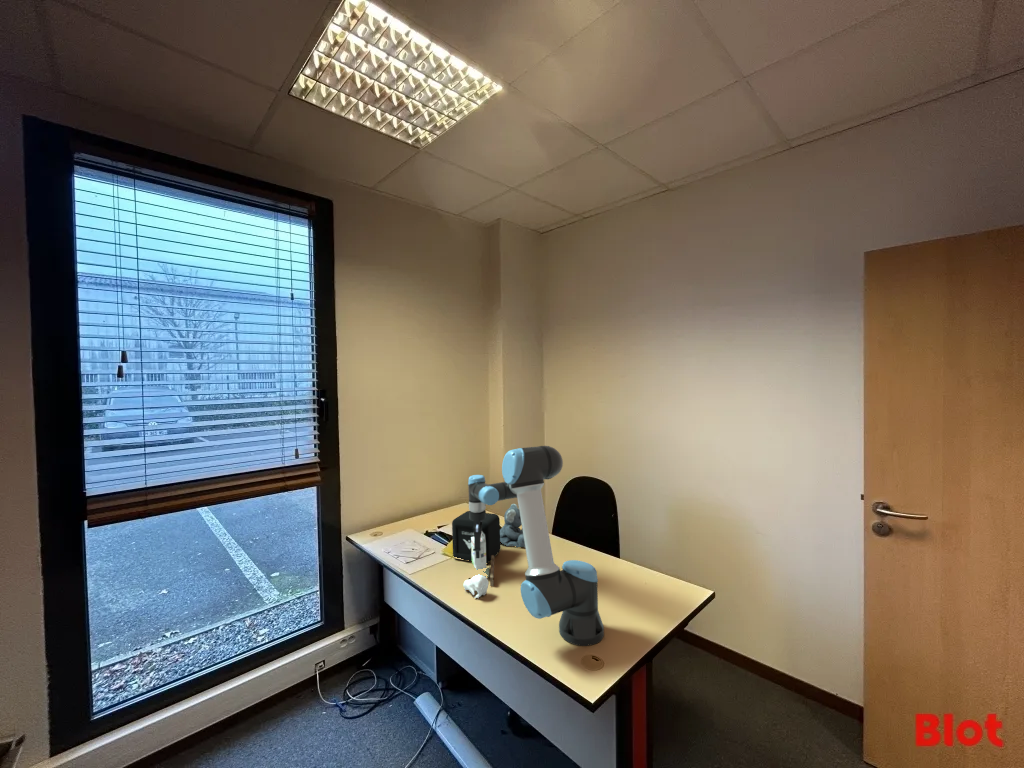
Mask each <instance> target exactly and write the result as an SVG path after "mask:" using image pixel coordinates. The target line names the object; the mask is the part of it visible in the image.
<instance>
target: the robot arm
mask: <svg viewBox="0 0 1024 768" xmlns="http://www.w3.org/2000/svg"><path fill="white" fill-rule="evenodd" d="M563 466H564V461H563V457H562V455H561V453H560V451H558V450H557V449H556V448H555V447H552V446H549V445H539V446H538V445H537V446H527V447H520V448H519V447H518V448H515V449H510V450H508V451H507V452H506V453H505V455H504V457H503V460H502V465H501V472H502V473H501V474H502V477H503V480H504V481H503V482H501V481H500V482H495V483H494V482H493V483H489V484H488V483H486V477H485V476H484V475H482V474H473V475H469V477H468V484H467V486H468V511H469V519H470V520H472V521H475V522H474V524H473V528H474V549H473V551H475V565H481V548H480V536H481V533H482V522H481V520H484V519H485V518H486V513H487V511H486V508H487V507H486V505H487V506H493V505H495V504H497V502H500V501H504V500H510V499H517V503H518V504H517V506H518V509H519V511H520V518H521V524H522V525H521V529H522V530H523V536H524V542H525V547H524V548H525V554H526V559H527V565H528V568H527V569H526V571H525V572H524V575H525V580H523V581H522V583H521V585H520V595H521V598H522V602H523V604H524V606H525V608H526V610H527V612H529V614H530V615H531V616H532V617H533V618H535V619H537V620H538V619H539V620H540V619H544V618H550V617H551V616H553V615H556V614H559V613H561V616H560V619H559V623H558V632H559V635H560V636H561V637H560V638H562V639H563V640H565V641H566V642H567V643H569V644H572V645H576V646H582V647H583V646H585V647H587V646H588V647H589V646H593V645H596V644H598V643H600V642H601V641H602V640H603V638H604V635H605V631H604V630H605V629H604V628H605V627H604V624H603V620H602V617H601V614H600V612H599V598H598V595H599V594H598V593H599V592H598V591H599V590H598V582H599V579H598V574H597V573H598V572H597V569H596V568H595V567H594V566H593V564H591V563H589V562H586V561H582V560H578V559H577V560H576V559H570V560H565V561H564V562H563V564H562V566H561V568H562V570H561V569H560V566H558V564H556V563H555V562H554V556H553V550H552V546H551V545H552V544H551V539H550V538H551V537H550V533H549V528H548V522H547V521H548V520H547V517H546V509H545V505H544V499H543V493H542V489H543V486H544V485H545V480H551V479H553V478H555V477H556V476H558V475H559V474H560V473H561V471H562V470H563V469H562V468H563Z"/></svg>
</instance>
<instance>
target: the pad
mask: <svg viewBox="0 0 1024 768" xmlns="http://www.w3.org/2000/svg"><path fill="white" fill-rule="evenodd" d="M486 568H487V569H486V571H485V572H484V571H483V572H484V573H486V574H487V575H488V576H487V577H489V578H490V567H486ZM485 577H486V576H485Z"/></svg>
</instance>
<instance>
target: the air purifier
mask: <svg viewBox="0 0 1024 768" xmlns="http://www.w3.org/2000/svg"><path fill="white" fill-rule="evenodd" d="M469 511H470V510H467V511H465V512H464V513H462V514H460V515H459V516H457V517H456V518H454V519H453V520H452V521H451V533H452V534H451V535H452V536H451V537H452V557H453V556H454V557H457V558H461V559H464V560H469V561H468V562H470V561H472V553H471V537H474V528H473V524H474V522H475V521H472V520H470V519H469ZM500 520H501V519H500V516H499V515H498V514H497V513H488V512H486V518H485V519H484V520H481V522H482V532H483V533H484V534H485V538H486V563H488V564H489V563H491V555H494V558H495V557H496V556H498V554H499V553H501V543H500V529H501V521H500ZM482 535H483V534H482ZM483 537H484V536H483ZM454 557H453V558H454ZM464 560H463V561H464Z"/></svg>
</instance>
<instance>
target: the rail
mask: <svg viewBox="0 0 1024 768" xmlns="http://www.w3.org/2000/svg"><path fill="white" fill-rule="evenodd" d="M494 571H495V557H494V555H491V561H490V570H489V584H490V585H489V586H493V587H494V580H493V578H494V577H495V572H494Z"/></svg>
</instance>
